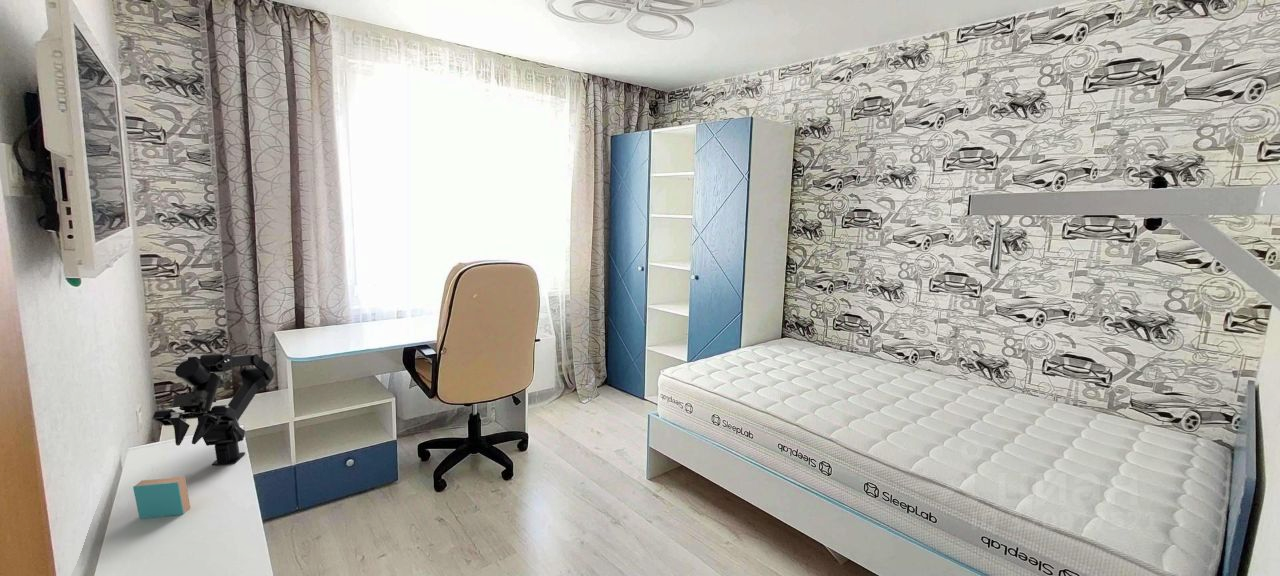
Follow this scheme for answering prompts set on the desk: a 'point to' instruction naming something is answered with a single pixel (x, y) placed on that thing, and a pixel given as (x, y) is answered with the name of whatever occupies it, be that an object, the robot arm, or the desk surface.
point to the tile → (161, 497)
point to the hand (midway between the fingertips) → (185, 444)
